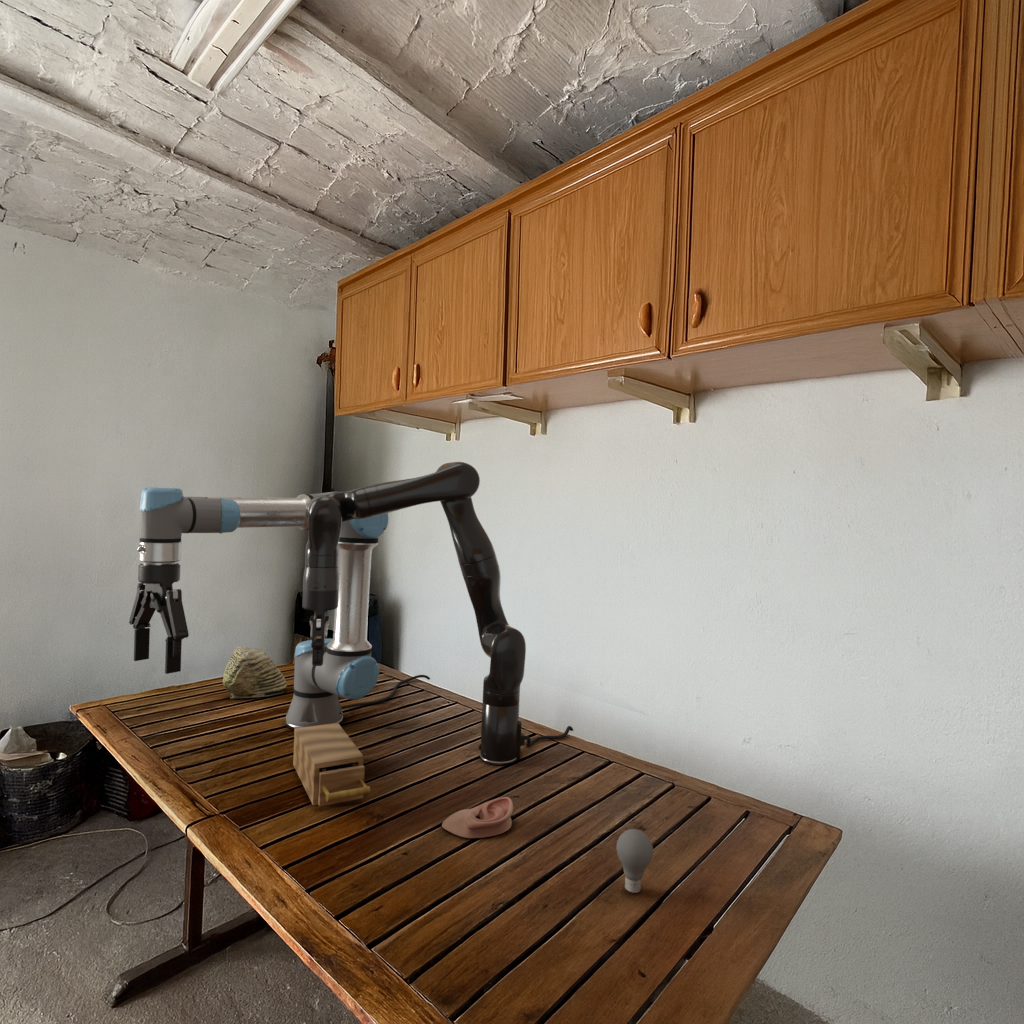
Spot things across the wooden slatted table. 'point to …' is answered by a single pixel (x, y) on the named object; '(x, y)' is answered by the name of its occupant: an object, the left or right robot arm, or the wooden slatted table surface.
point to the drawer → (341, 784)
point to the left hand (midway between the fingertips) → (156, 665)
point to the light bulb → (634, 857)
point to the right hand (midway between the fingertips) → (318, 660)
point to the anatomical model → (481, 819)
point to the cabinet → (321, 753)
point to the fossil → (252, 674)
